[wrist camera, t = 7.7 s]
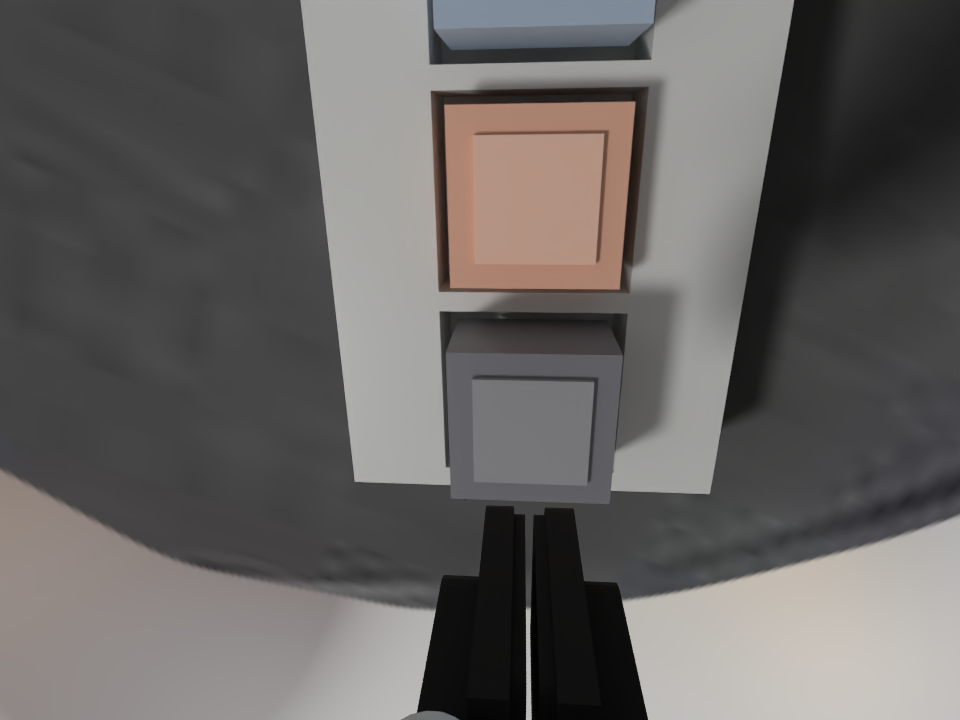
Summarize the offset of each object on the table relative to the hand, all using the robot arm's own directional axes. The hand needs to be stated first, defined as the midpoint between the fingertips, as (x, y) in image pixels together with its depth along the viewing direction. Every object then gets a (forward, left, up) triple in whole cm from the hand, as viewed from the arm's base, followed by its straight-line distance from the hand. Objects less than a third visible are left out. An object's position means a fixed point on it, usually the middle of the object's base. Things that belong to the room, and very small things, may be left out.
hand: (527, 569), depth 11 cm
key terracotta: (0, -6, -9) cm, 11 cm away
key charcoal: (0, 0, -8) cm, 8 cm away
